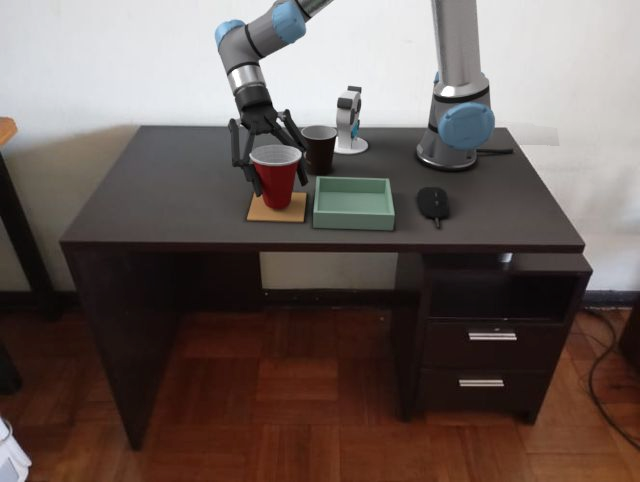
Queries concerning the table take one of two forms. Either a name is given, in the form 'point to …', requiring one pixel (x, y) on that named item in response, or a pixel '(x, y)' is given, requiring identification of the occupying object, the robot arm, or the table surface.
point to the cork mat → (278, 210)
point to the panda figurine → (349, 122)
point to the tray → (353, 203)
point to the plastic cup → (276, 173)
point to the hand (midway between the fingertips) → (282, 189)
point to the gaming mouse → (433, 203)
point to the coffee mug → (319, 148)
